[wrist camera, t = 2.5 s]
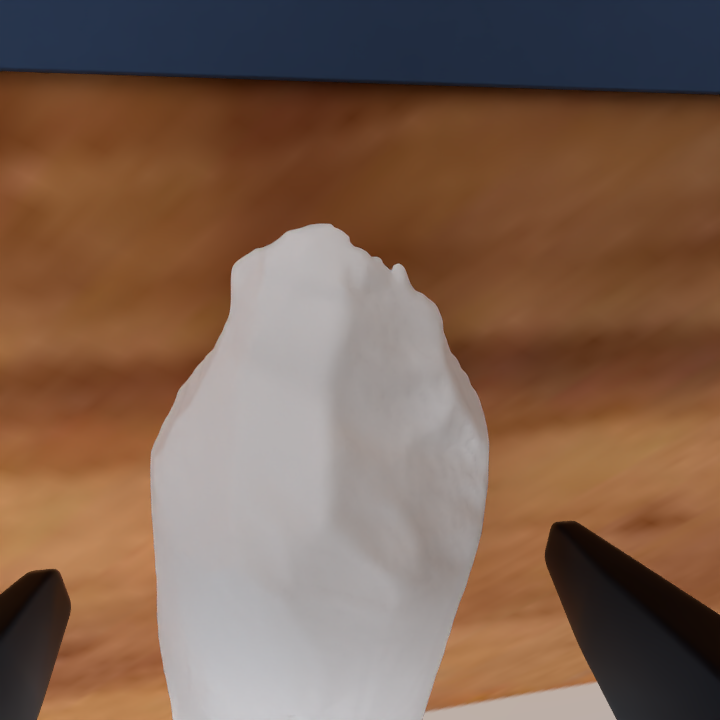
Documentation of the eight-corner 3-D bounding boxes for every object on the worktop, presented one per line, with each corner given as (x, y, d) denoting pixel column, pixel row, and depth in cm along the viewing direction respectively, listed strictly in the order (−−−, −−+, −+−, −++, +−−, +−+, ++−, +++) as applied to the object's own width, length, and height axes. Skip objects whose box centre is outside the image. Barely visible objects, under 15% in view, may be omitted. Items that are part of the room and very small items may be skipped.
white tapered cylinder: (472, 214, 9) (677, 284, 4) (396, 608, 14) (451, 859, 9) (170, 185, 8) (-15, 231, 3) (198, 618, 13) (137, 904, 8)
